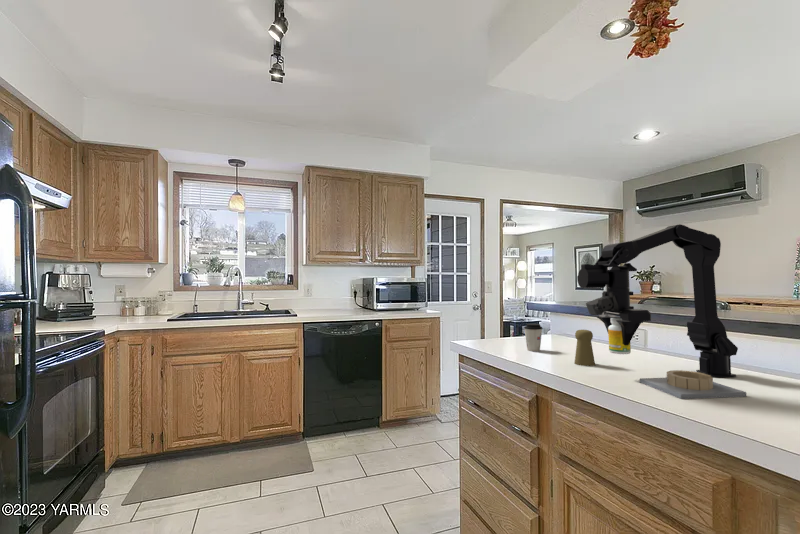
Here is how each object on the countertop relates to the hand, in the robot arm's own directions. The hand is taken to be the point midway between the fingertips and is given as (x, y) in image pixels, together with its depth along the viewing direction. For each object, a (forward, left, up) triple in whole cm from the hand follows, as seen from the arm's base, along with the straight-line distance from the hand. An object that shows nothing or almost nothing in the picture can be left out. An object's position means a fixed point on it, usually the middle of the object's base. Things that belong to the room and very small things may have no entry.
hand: (619, 343), depth 108 cm
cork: (+1, -17, -10) cm, 20 cm away
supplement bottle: (0, 0, -3) cm, 3 cm away
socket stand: (-10, +12, -10) cm, 18 cm away
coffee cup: (+8, -41, -10) cm, 43 cm away
